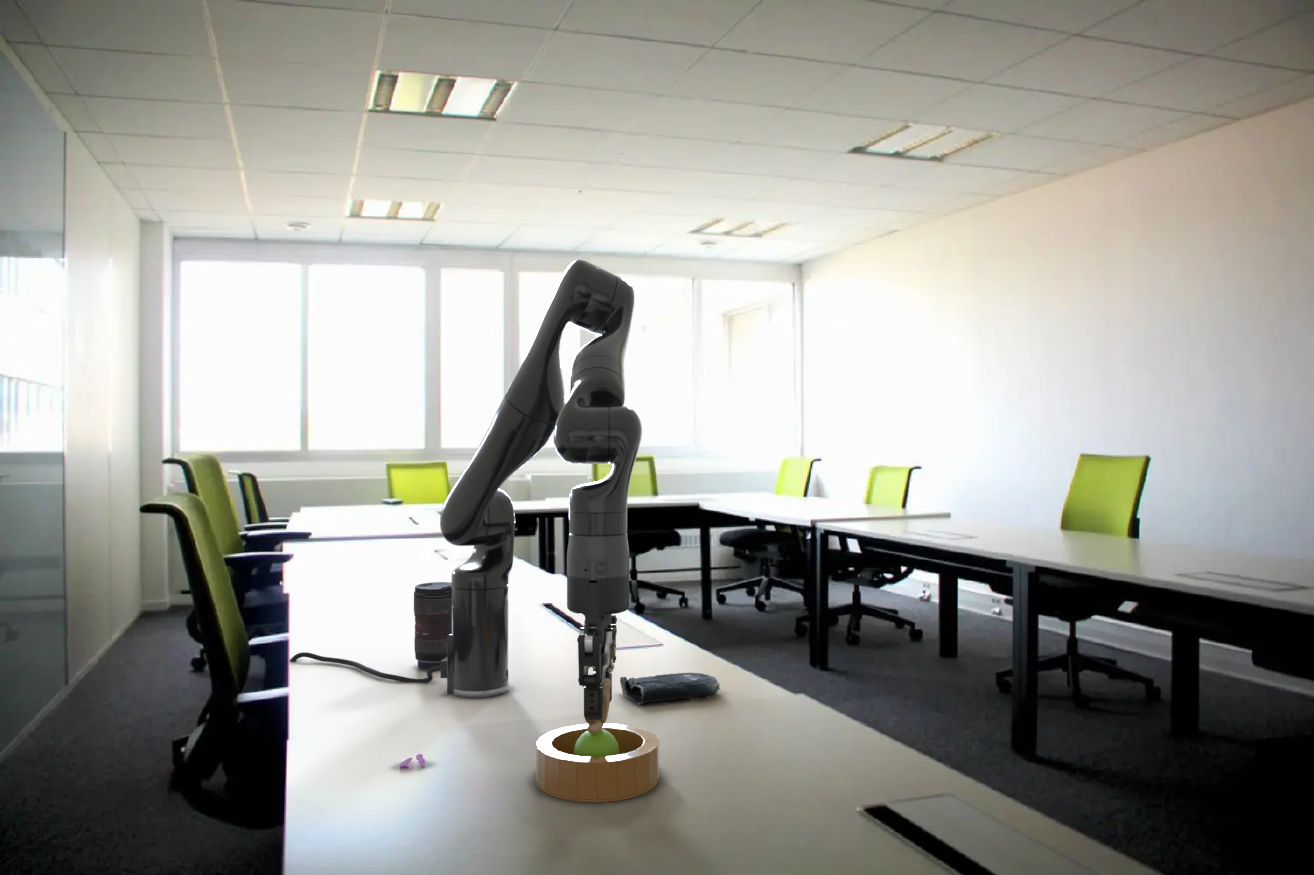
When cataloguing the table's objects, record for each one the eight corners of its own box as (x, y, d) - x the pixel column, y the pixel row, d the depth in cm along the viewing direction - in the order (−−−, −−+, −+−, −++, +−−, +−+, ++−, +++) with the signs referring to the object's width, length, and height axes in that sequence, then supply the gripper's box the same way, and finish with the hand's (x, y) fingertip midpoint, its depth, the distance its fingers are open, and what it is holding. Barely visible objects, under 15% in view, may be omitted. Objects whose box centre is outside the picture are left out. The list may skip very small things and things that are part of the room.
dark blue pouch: (644, 718, 139) (730, 693, 145) (638, 681, 139) (723, 659, 146) (623, 710, 147) (704, 688, 154) (617, 676, 148) (698, 655, 154)
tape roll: (523, 799, 103) (523, 759, 103) (551, 757, 117) (551, 721, 117) (651, 804, 101) (651, 764, 101) (663, 760, 116) (663, 725, 116)
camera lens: (404, 669, 165) (404, 586, 165) (431, 660, 172) (431, 580, 172) (441, 673, 162) (441, 589, 162) (467, 663, 169) (467, 583, 169)
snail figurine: (628, 767, 112) (628, 669, 112) (608, 785, 105) (608, 682, 106) (587, 762, 113) (587, 665, 113) (566, 780, 107) (566, 678, 107)
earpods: (405, 779, 113) (405, 774, 112) (399, 768, 114) (399, 763, 113) (427, 766, 115) (427, 761, 113) (421, 755, 115) (421, 750, 114)
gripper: (578, 563, 117) (578, 694, 117) (555, 578, 103) (554, 727, 103) (636, 564, 117) (636, 695, 116) (620, 579, 102) (620, 729, 102)
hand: (598, 710), depth 110 cm, fingers closed on snail figurine, 6 cm apart
